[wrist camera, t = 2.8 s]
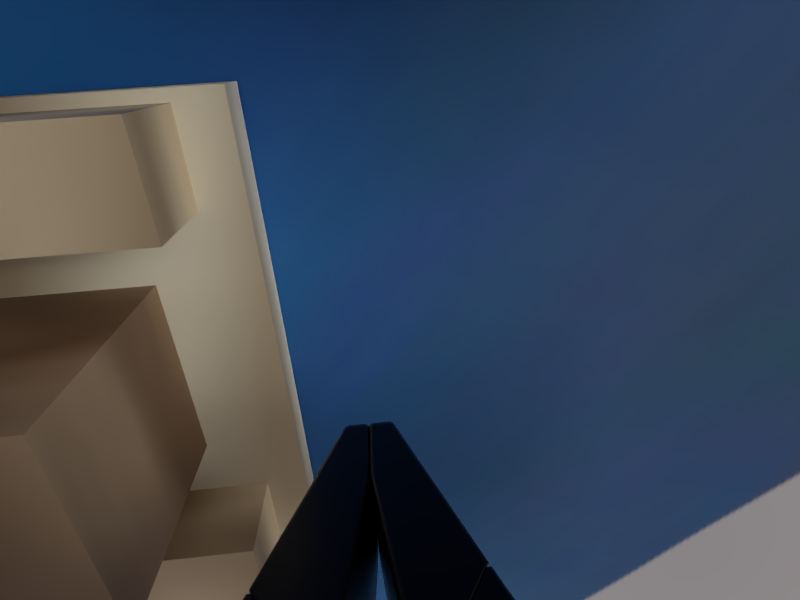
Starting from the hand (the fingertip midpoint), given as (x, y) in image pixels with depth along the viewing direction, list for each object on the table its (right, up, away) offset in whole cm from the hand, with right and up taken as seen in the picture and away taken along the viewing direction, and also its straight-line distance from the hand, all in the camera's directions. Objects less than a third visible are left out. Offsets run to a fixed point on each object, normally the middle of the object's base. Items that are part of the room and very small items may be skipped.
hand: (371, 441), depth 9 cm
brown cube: (-7, +1, +2) cm, 7 cm away
